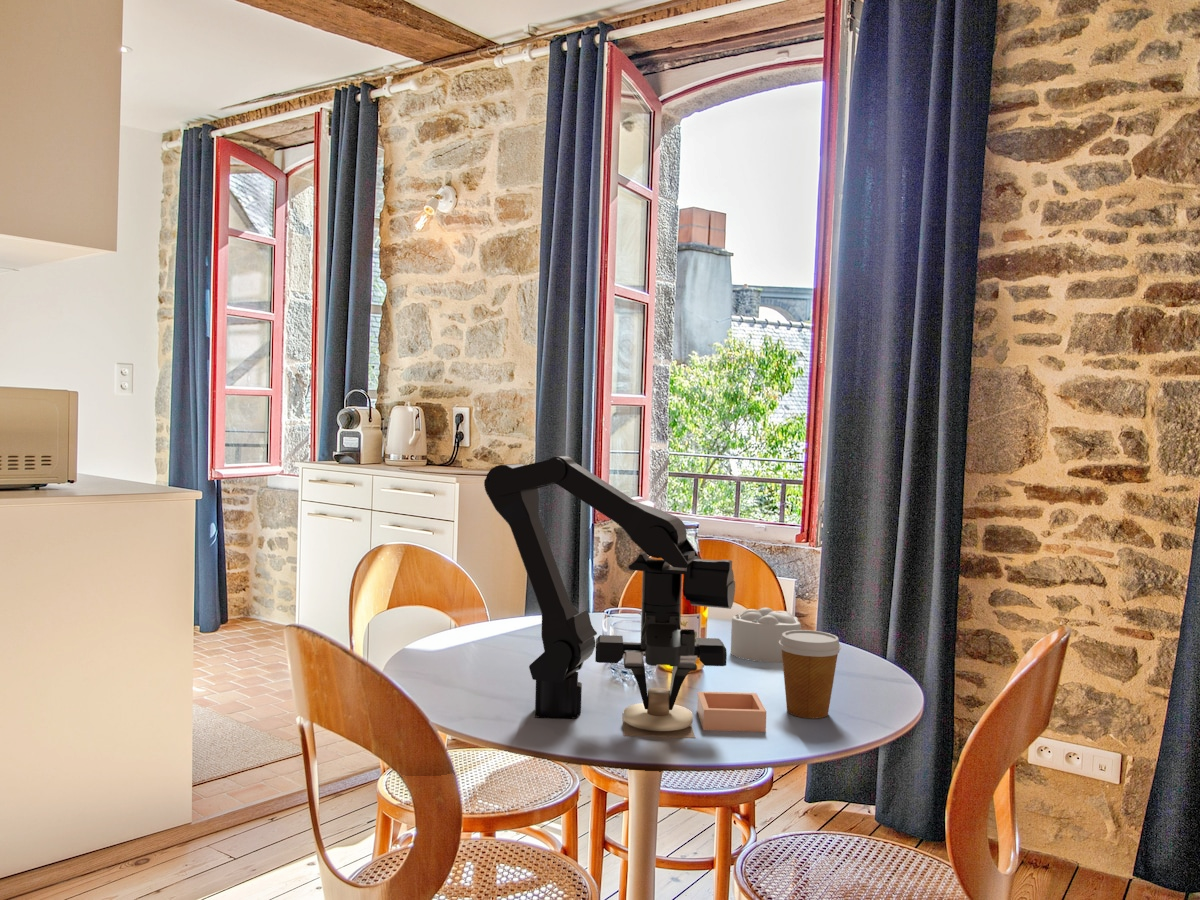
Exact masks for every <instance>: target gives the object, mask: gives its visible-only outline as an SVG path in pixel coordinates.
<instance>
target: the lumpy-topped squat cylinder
mask: <svg viewBox="0 0 1200 900" xmlns="http://www.w3.org/2000/svg"><path fill="white" fill-rule="evenodd" d="M791 630H802V625H801V622H800V621H799V618H798V617H797V616H793V614H792V613H790V611H786V610H773V609H772V608H770V607H761V608H759V609H756V608H755V609H754V608H749V609H746V610H744V611H743V612H742V613H741V614H739V613H736V614H735V615H733V616H732V617H731V632H730V633H731V637H730V655H731V654H732V655H731V656H733V655H734V656H733V657H735V656H736V658H738V657H740V658H739V659H742V658H744V659H743V660H747V659H749V660H748V661H752V660H755V661H754V662H759V661H764V662H763V663H776V662H777V663H778V664H780V663H782V664H783V659H782V649H781V648H780V645H779V640H781V637H782V633H784V632H786V631H791ZM777 663H776V664H777Z"/></svg>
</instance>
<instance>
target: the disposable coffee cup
mask: <svg viewBox="0 0 1200 900" xmlns="http://www.w3.org/2000/svg"><path fill="white" fill-rule="evenodd" d="M779 645H780V648H781V649H782V659H783V663H782V667H783V668H782V671H783V680H784V689H785V691H784V692H785V702H786V704H785V705H786V711H787V713H788V714H791V715H793V716H794V717H798V718H803V719H822V718H825V717H826V718H827V717H828V715H829V710H830V709H829V708H830V705H831V699H832V692H833V684H834V680H835V673H836V667H837V663H838V662H837V660H838V655H839V653H840V651H841V649H842V645H841V644H840V641H839V637H838V636H837V635H835V634H833V633H829V632H825V631H820V630H809V629H801V630H791V631H786V632H784V633H782V637H781V640H779Z"/></svg>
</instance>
